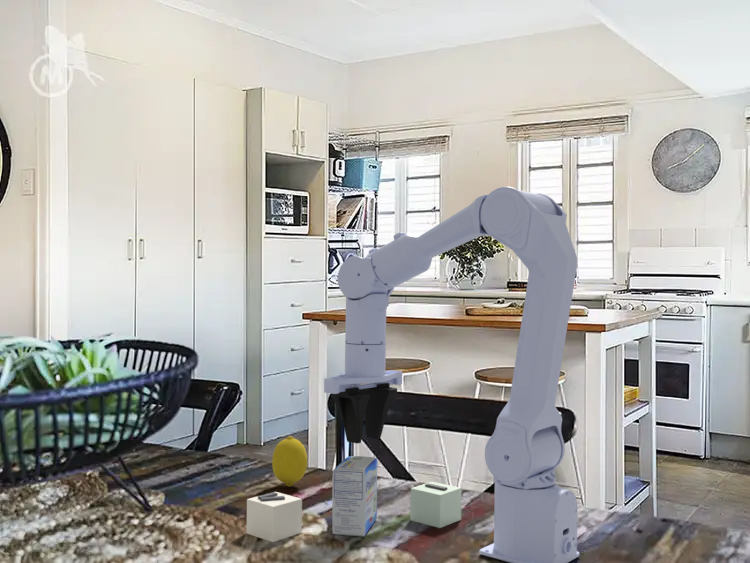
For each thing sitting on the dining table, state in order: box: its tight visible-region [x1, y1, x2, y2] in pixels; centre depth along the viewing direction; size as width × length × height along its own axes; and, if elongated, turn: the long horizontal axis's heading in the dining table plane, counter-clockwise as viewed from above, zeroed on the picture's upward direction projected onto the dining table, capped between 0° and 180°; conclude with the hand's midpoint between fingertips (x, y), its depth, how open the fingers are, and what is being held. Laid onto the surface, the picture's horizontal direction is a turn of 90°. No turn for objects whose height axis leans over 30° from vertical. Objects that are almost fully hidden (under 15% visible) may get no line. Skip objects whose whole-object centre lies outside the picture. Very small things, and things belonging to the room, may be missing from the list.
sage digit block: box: [409, 481, 462, 529], centre depth 109 cm, size 5×5×5 cm
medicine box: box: [331, 455, 378, 538], centre depth 105 cm, size 8×4×9 cm, turn 168°
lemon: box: [271, 435, 308, 487], centre depth 125 cm, size 6×6×8 cm
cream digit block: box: [245, 491, 303, 543], centre depth 102 cm, size 5×5×5 cm
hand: (363, 440), depth 111 cm, fingers open, 4 cm apart
